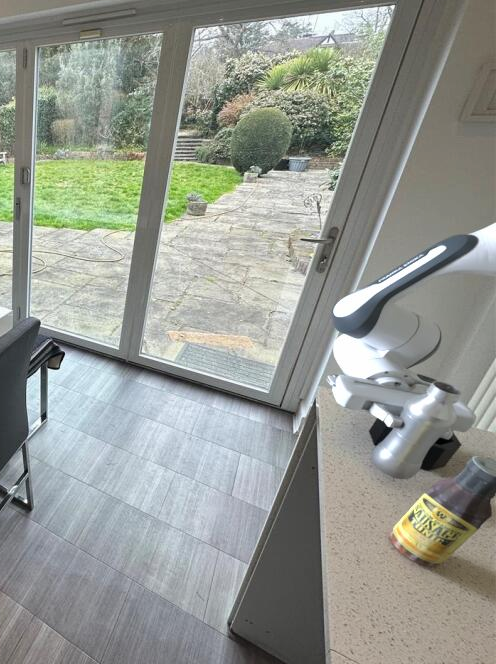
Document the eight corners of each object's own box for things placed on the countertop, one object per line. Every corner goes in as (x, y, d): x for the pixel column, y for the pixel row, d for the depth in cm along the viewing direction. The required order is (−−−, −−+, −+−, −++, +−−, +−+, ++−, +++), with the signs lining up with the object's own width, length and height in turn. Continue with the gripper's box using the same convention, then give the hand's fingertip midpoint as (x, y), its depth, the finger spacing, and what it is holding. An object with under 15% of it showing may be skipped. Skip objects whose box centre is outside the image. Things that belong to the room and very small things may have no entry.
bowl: (393, 425, 91) (407, 404, 88) (455, 463, 82) (472, 441, 79) (357, 433, 89) (370, 412, 86) (417, 474, 79) (433, 452, 76)
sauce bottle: (378, 538, 67) (444, 452, 58) (401, 526, 69) (468, 441, 60) (428, 578, 62) (509, 489, 53) (451, 563, 64) (533, 476, 55)
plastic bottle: (406, 465, 79) (466, 384, 70) (415, 490, 74) (481, 406, 65) (364, 450, 82) (416, 371, 73) (370, 474, 77) (427, 391, 68)
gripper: (329, 361, 85) (358, 402, 74) (453, 383, 80) (505, 432, 68) (317, 384, 88) (343, 428, 77) (435, 408, 83) (483, 459, 71)
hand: (421, 430), depth 72 cm, fingers closed on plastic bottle, 6 cm apart
